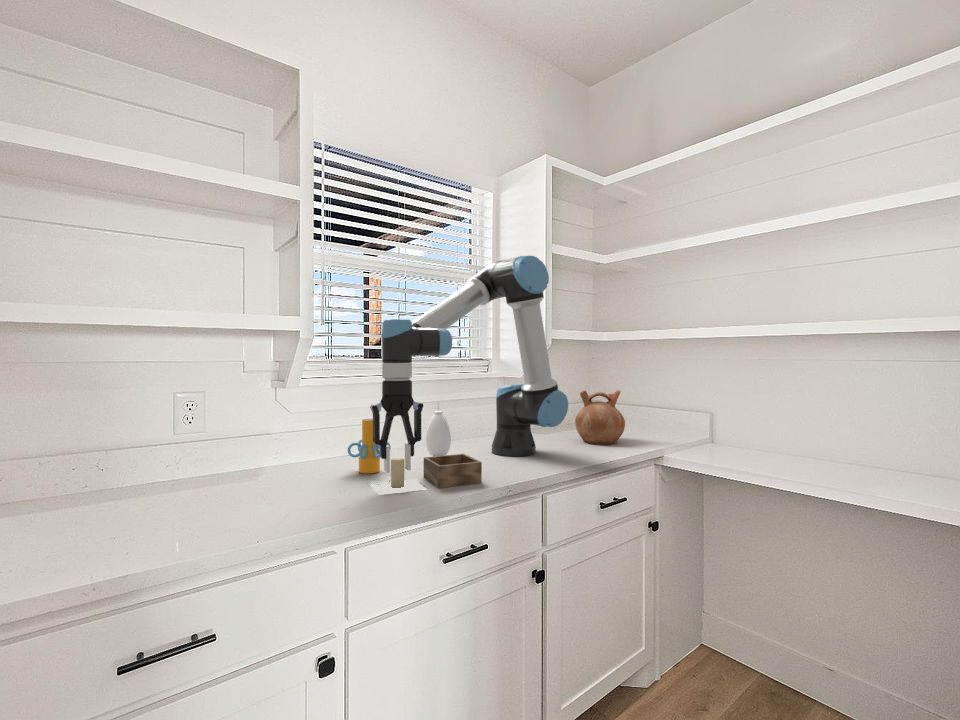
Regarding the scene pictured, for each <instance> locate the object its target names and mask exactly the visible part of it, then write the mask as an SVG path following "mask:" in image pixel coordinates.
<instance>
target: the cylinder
mask: <svg viewBox="0 0 960 720" xmlns="http://www.w3.org/2000/svg"><path fill="white" fill-rule="evenodd" d="M387 445H388V446H390V450H391V449H392V448H391V444H390V442H387ZM353 446H356V447H357V451H358V453H356V454H354V453H352V452H351V449H352V448H353ZM347 454H348V455H349V456H350V457H352V458H358V472H359V473H360V474H366V475H368V474H369V475H370V474H377V473H379V472H380V470H381V456H380V445H376V444H375V443H374V442H373V418H364V419H362V420H361V439H360V440H359V441H358V442H351V443H350V444H349V445H348V447H347Z"/></svg>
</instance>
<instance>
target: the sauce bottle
mask: <svg viewBox="0 0 960 720" xmlns="http://www.w3.org/2000/svg"><path fill="white" fill-rule="evenodd" d="M433 413H434V414H433V415H432V417H431V418H430V420H429V422H428V425H427V428H426V435H425V444H426V448H427V452H428V454H429V455H430V456H432V457H434V456H444V455H448V453H449V450H450V448H451V443H452V442H451V441H452V434H451V429H450V425H449V423H448V421H447V418H446V417H445V415H444V414H443V411H442V410H440V403H439V402H438V403H437V410H435V411H433Z"/></svg>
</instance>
